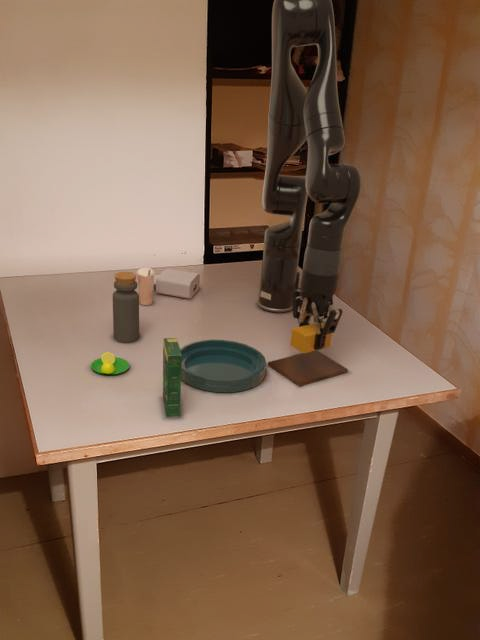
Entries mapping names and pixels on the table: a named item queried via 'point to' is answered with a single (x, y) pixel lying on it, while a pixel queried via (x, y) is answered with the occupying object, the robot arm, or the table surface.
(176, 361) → the coffee box
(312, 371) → the board
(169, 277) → the charger
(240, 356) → the teal plate
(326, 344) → the block
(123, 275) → the bottle
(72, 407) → the table surface
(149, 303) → the milkshake
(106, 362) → the lemons on green plate
